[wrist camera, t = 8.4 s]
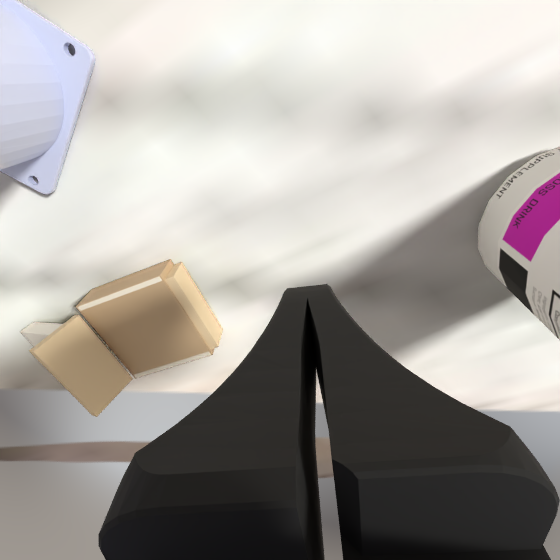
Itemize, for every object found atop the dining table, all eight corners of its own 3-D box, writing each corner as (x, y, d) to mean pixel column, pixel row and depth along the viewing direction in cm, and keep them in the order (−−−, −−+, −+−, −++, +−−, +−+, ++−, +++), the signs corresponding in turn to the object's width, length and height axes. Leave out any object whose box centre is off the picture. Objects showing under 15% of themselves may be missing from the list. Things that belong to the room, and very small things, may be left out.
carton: (178, 255, 22) (168, 272, 20) (225, 332, 25) (220, 352, 23) (91, 289, 23) (75, 307, 21) (145, 358, 26) (135, 378, 24)
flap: (33, 351, 19) (-6, 344, 23) (97, 416, 22) (52, 401, 25) (79, 315, 21) (36, 314, 25) (132, 378, 24) (86, 369, 27)
